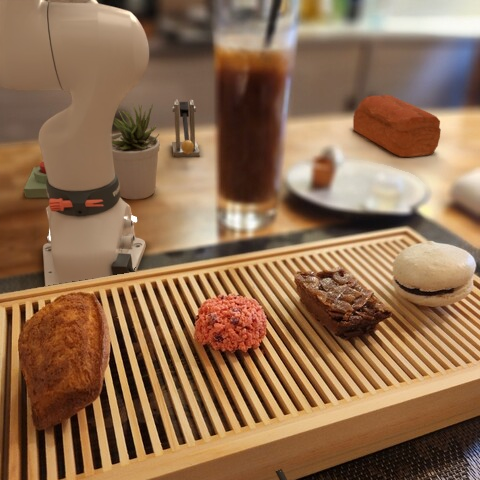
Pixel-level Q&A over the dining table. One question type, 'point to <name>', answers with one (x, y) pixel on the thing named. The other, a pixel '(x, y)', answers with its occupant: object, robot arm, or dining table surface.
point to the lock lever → (185, 128)
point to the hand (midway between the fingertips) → (131, 81)
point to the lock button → (42, 167)
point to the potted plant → (135, 156)
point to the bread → (397, 126)
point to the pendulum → (177, 145)
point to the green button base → (36, 184)
